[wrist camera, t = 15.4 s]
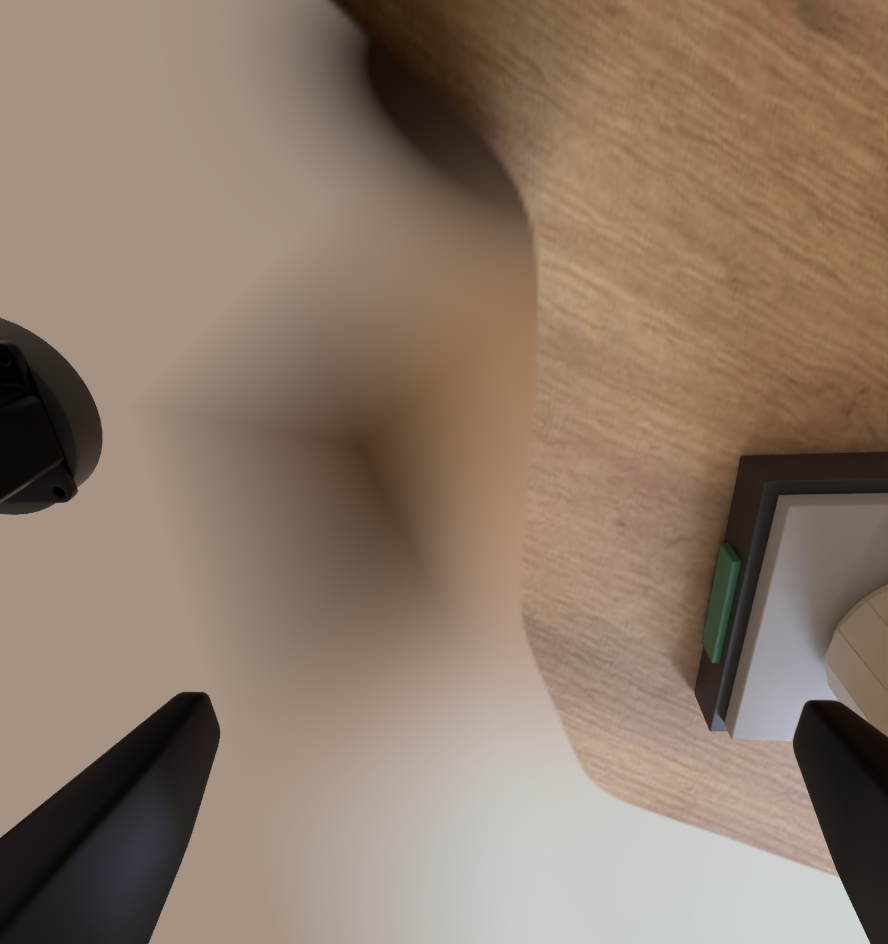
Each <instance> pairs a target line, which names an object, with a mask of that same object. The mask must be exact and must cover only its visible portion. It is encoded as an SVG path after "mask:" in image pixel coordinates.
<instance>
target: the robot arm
mask: <svg viewBox="0 0 888 944" xmlns="http://www.w3.org/2000/svg"><path fill="white" fill-rule="evenodd" d="M4 351H5V352H6V353H7V354H8V356H9V358H10V360H9V359H8V358H6V356H5V355H4ZM60 487H61V488H62V489H63V490H64V491H65V492H64V491H62V490H61V489H60ZM77 492H78V490H77V486H76V483H75V481H74V478H73V476H72V473H71V471H70V468H69V466H68V463H67V461H66V458H65V456H64V453H63V451H62V448H61V446H60V443H59V441H58V438H57V435H56V433H55V430H54V428H53V425H52V423H51V420H50V418H49V415H48V413H47V410H46V408H45V405H44V403H43V400H42V398H41V395H40V393H39V390H38V388H37V385H36V383H35V380H34V378H33V375H32V373H31V370H30V368H29V365H28V363H27V360H26V358H25V355H24V353H23V351H22V350H21V348H20V347H19V346H18V345H17V344H15V343H13V342H11V341H7V340H0V504H18V503H63V502H68V501H69V500H70V499H72V498H73V497H74V496H75V495H76V494H77ZM219 739H220V728H219V723H218V721H217V718H216V715H215V712H214V709H213V706H212V703H211V700H210V698H209V696H208V695H207V694H206V693H203V692H182V693H179V694H177V695H176V696H174V697H173V698H172V699H171V700H170V701H168V702H167V703H166V704H165V705H163V706H162V707H161V708H160V709H158V710H157V711H156V712H155V713H154V714H152V715H151V716H150V717H149V718H147V719H146V720H145V721H144V722H142V723H141V724H140V725H139V726H137V727H136V728H135V729H134V730H133V731H131V732H130V733H129V734H128V735H126V736H125V737H124V738H123V739H121V740H120V741H119V742H118V743H117V744H115V745H114V746H113V747H112V748H110V749H109V750H108V751H107V752H106V753H104V754H103V755H102V756H101V757H99V758H98V759H97V760H96V761H94V762H93V763H92V764H91V765H90V766H88V767H87V768H86V769H85V770H83V771H82V772H81V773H80V774H78V775H77V776H76V777H75V778H74V779H72V780H71V781H70V782H69V783H67V784H66V785H65V786H64V787H62V788H61V789H60V790H59V791H58V792H56V793H55V794H54V795H53V796H51V797H50V798H49V799H48V800H46V801H45V802H44V803H43V804H41V805H40V806H39V807H38V808H37V809H35V810H34V811H33V812H32V813H30V814H29V815H28V816H27V817H25V818H24V819H23V820H22V821H21V822H19V823H18V824H17V825H16V826H15V827H13V828H12V829H11V830H10V831H8V832H7V833H6V834H5V835H3V836H2V837H1V838H0V944H148V943H149V941H150V939H151V936H152V934H153V931H154V929H155V926H156V924H157V921H158V919H159V916H160V914H161V911H162V909H163V906H164V904H165V902H166V899H167V897H168V894H169V891H170V889H171V887H172V884H173V882H174V879H175V877H176V874H177V872H178V869H179V867H180V864H181V862H182V859H183V857H184V854H185V851H186V848H187V846H188V843H189V840H190V837H191V834H192V831H193V828H194V825H195V821H196V817H197V815H198V811H199V808H200V805H201V801H202V798H203V794H204V791H205V787H206V784H207V781H208V778H209V774H210V771H211V768H212V764H213V761H214V758H215V754H216V751H217V748H218V744H219ZM793 748H794V753H795V756H796V759H797V762H798V765H799V768H800V770H801V773H802V776H803V779H804V782H805V784H806V787H807V790H808V793H809V796H810V798H811V801H812V804H813V807H814V810H815V813H816V815H817V818H818V821H819V824H820V827H821V829H822V832H823V835H824V838H825V841H826V843H827V846H828V849H829V852H830V854H831V857H832V859H833V862H834V865H835V867H836V870H837V872H838V874H839V876H840V879H841V881H842V883H843V885H844V888H845V890H846V892H847V894H848V896H849V898H850V901H851V903H852V905H853V907H854V909H855V911H856V914H857V916H858V918H859V920H860V922H861V924H862V926H863V928H864V931H865V933H866V935H867V937H868V939H869V941H870V944H888V737H887V736H886V735H885V734H883V733H882V732H881V731H879V730H878V729H877V728H875V727H874V726H873V725H871V724H870V723H869V722H867V721H866V720H865V719H863V718H862V717H861V716H859V715H858V714H857V713H855V712H854V711H853V710H851V709H850V708H849V707H847V706H846V705H844V704H843V703H841V702H839V701H835V700H809V701H807V702H806V703H805V704H804V706H803V709H802V712H801V715H800V718H799V721H798V724H797V727H796V730H795V733H794V737H793Z"/></svg>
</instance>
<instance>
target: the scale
mask: <svg viewBox="0 0 888 944" xmlns="http://www.w3.org/2000/svg"><path fill="white" fill-rule="evenodd" d="M886 584H888V452H875V453H834V454H793V455H752V456H741V459H740V464H739V469H738V475H737V480H736V485H735V490H734V495H733V500H732V505H731V510H730V515H729V520H728V525H727V531H726V536H725V541H724V543H721V545H720V550H719V556H718V561H717V566H716V571H715V576H714V581H713V587H712V592H711V597H710V602H709V607H708V612H707V618H706V623H705V628H704V633H703V638H702V643H703V645H704V648H703V653H702V658H701V663H700V668H699V673H698V678H697V683H696V688H695V696H696V699H697V701H698V704H699V706H700V708H701V711H702V713H703V716H704V718H705V721H706V723H707V725H708V728H709V730H710V731H728V733H729V735H730V737H731V739H740V740H793V737H794V733H795V730H796V727H797V724H798V721H799V718H800V715H801V712H802V709H803V706H804V704H805V703H806V702H807V701H809V700H835V701H838V699H837V698H836V696H835V695H834V693H833V692H832V690H831V689H830V688H829V686H828V682H827V674H826V666H825V654H826V652H827V650H828V647H829V645H830V643H831V639H832V636H833V633H834V631H835V629H836V627H837V625H838V624H839V622H840V621H841V619H842V618H843V617H844V615H845V614H846V613H847V612H848V611H849V610H850V609H851V608H852V607H853V606H854V605H855V604H856V603H857V602H859V601H860V600H861V599H862V598H864V597H865V596H867V595H868V594H869V593H871V592H873V591H874V590H876V589H878V588H880V587H881V586H883V585H886Z"/></svg>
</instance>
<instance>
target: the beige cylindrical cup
mask: <svg viewBox="0 0 888 944" xmlns="http://www.w3.org/2000/svg"><path fill="white" fill-rule="evenodd" d="M825 666H826V674H827V682H828V686H829V688H830V689H831V690H832V692H833V693H834V695H835V696H836V698H837V699H838V701H839V702H841V703H843V704H844V705H846V706H847V707H849V708H850V709H851V710H853V711H854V712H855V713H857V714H858V715H859V716H861V717H862V718H863V719H865V720H866V721H867V722H869V723H870V724H871V725H873V726H874V727H875V728H877V729H878V730H879V731H881V732H882V733H883V734H885V735H886V736H887V737H888V584H886V585H883V586H881V587H880V588H878V589H876V590H874V591H873V592H871V593H869V594H868V595H867V596H865V597H864V598H862V599H861V600H860V601H859V602H857V603H856V604H855V605H854V606H853V607H852V608H851V609H850V610H849V611H848V612H847V613H846V614H845V615H844V617H843V618H842V619H841V621H840V622H839V624H838V625H837V627H836V629H835V631H834V633H833V636H832V639H831V643H830V645H829V647H828V650H827V652H826V654H825Z"/></svg>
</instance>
